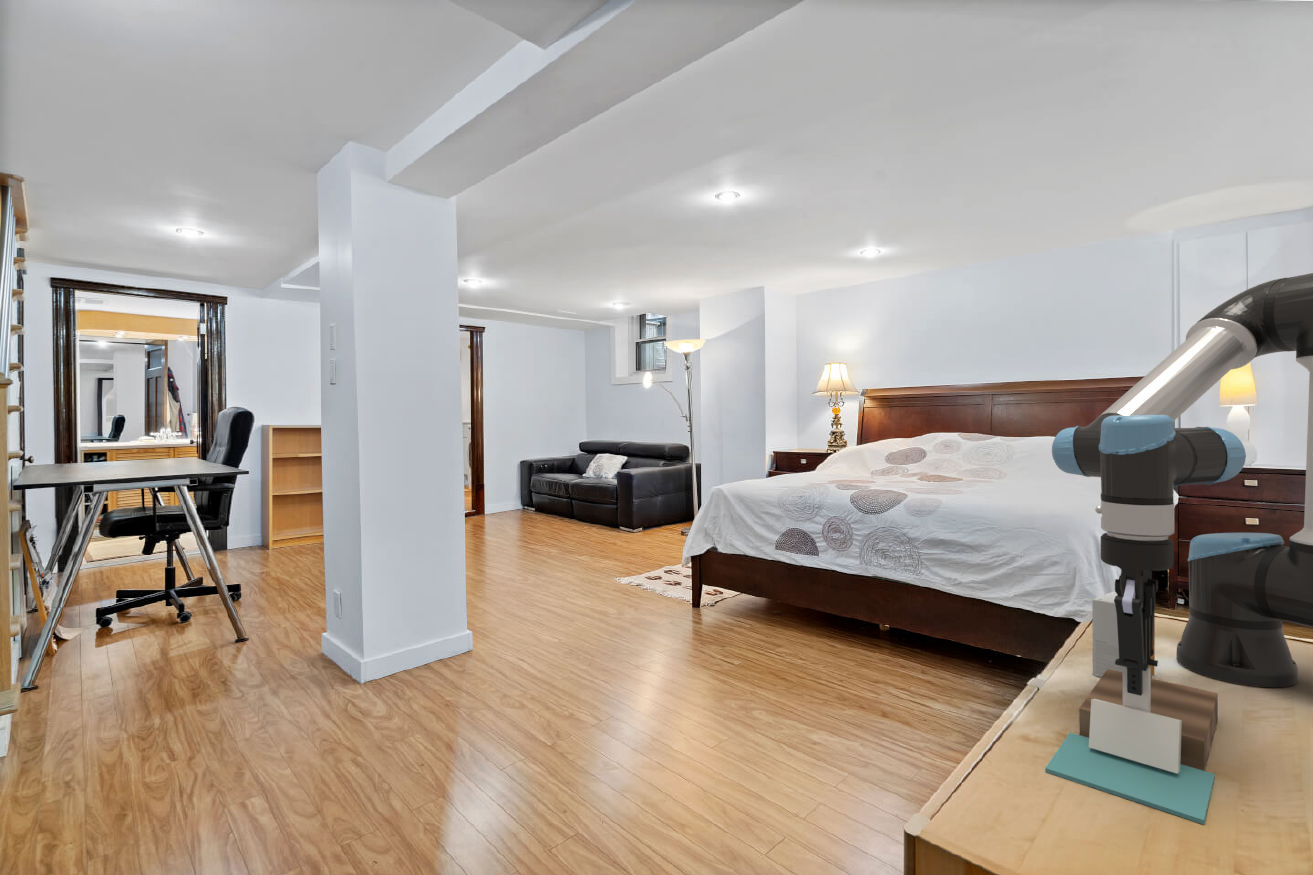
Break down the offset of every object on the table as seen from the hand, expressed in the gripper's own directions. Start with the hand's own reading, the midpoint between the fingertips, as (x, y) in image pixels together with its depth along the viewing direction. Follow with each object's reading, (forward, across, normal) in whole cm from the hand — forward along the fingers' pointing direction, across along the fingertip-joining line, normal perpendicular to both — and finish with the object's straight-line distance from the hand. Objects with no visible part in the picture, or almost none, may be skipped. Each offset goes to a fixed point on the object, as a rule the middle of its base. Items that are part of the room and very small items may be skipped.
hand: (1136, 715), depth 82 cm
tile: (+2, +2, 0) cm, 2 cm away
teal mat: (+5, +6, 0) cm, 8 cm away
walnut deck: (+5, -9, 0) cm, 11 cm away
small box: (+5, -28, -6) cm, 29 cm away
